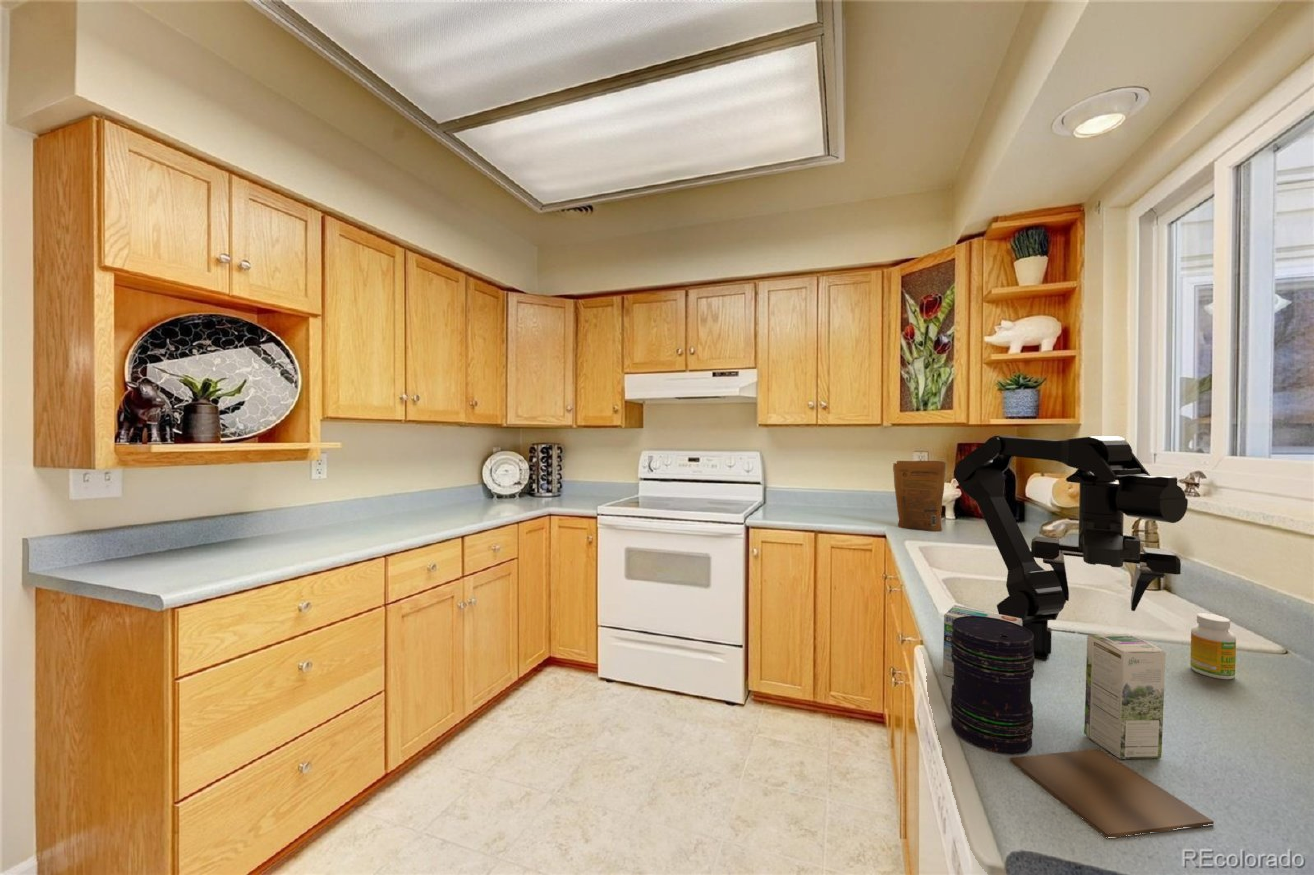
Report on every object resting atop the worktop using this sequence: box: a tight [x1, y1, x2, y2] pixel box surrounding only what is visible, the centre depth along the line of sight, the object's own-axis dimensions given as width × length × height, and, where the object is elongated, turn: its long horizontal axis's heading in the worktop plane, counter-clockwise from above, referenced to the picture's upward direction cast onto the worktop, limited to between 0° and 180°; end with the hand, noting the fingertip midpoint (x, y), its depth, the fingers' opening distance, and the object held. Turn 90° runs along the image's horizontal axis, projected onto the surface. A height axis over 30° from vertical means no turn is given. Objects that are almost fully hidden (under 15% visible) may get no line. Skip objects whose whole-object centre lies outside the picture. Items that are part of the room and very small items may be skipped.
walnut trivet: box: [1009, 748, 1214, 839], centre depth 63 cm, size 13×13×1 cm
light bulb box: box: [942, 604, 1022, 678], centre depth 91 cm, size 11×7×11 cm, turn 47°
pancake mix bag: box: [892, 460, 947, 532], centre depth 216 cm, size 7×19×28 cm, turn 55°
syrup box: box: [1083, 633, 1167, 760], centre depth 72 cm, size 6×6×14 cm
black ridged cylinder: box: [950, 616, 1035, 756], centre depth 75 cm, size 10×10×15 cm
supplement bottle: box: [1189, 612, 1237, 680], centre depth 93 cm, size 5×5×10 cm
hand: (1099, 605), depth 89 cm, fingers open, 8 cm apart
